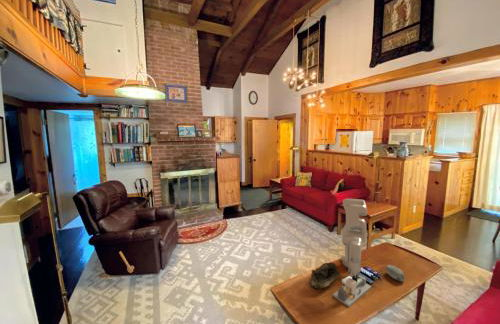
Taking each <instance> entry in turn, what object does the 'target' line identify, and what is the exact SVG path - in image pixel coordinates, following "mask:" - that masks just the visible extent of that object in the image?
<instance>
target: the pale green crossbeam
mask: <svg viewBox="0 0 500 324" xmlns="http://www.w3.org/2000/svg"><path fill="white" fill-rule="evenodd" d="M361 282H363V279H361V278H360V279H358V280H357V283H356V286H358V285H359V284H360V283H361ZM345 291H346V294H347V293H350V291H351V288H349V287H348V288H346V289H345Z"/></svg>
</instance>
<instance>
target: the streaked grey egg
mask: <svg viewBox="0 0 500 324" xmlns="http://www.w3.org/2000/svg"><path fill="white" fill-rule="evenodd" d="M385 272H386V273H387V275H388V276H389V277H390V278H391V279H393V280H396V281H399V282H404V281H405V279H406V277H405V274H404V272H403V270H401V269H400V268H398V267H397V266H395V265H392V264H388V265H386V266H385Z"/></svg>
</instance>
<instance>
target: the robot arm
mask: <svg viewBox="0 0 500 324" xmlns="http://www.w3.org/2000/svg"><path fill="white" fill-rule="evenodd" d="M342 205H343V208H344V211H345V225H344V226H343V228H342V230H341V243H342V245H343V246H344V255H343V254H341V256H340V259H342V264H343V266H344V267H346V268H347V273H348V274H349V278H351V279H353V280H355V281H356V283H357V278H358V276H359V273H360V272H362V266H361V265H362V247H363V245H364V244H366V243H367V236H368V235H367V221H366V220H365V219H364V218H360V216H362V217H365V216H367V215H368V207H367V203H366V201H365V200H364V199H361V198H360V199H359V198H357V199H356V198H345V199H343V200H342Z"/></svg>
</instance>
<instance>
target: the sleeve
mask: <svg viewBox="0 0 500 324" xmlns="http://www.w3.org/2000/svg"><path fill="white" fill-rule="evenodd" d="M345 285H346V288H348V287H349V288H351V291H350V293H351V294H353V293H355V292H356V281H355V280H353V279H352V277H349V278H347V279H346V280H345Z"/></svg>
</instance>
